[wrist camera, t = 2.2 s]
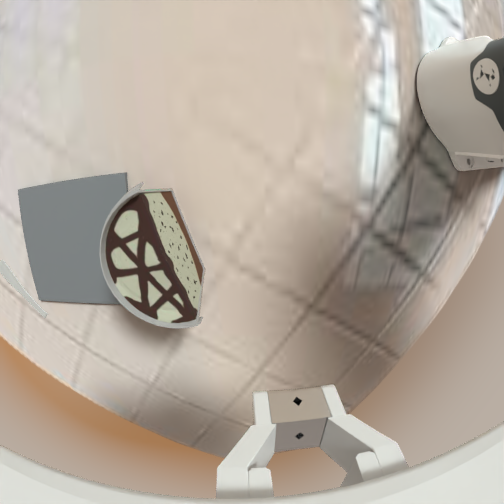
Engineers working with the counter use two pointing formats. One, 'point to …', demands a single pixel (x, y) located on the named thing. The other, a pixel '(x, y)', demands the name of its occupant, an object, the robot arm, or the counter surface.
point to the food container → (152, 259)
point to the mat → (69, 236)
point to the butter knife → (19, 286)
